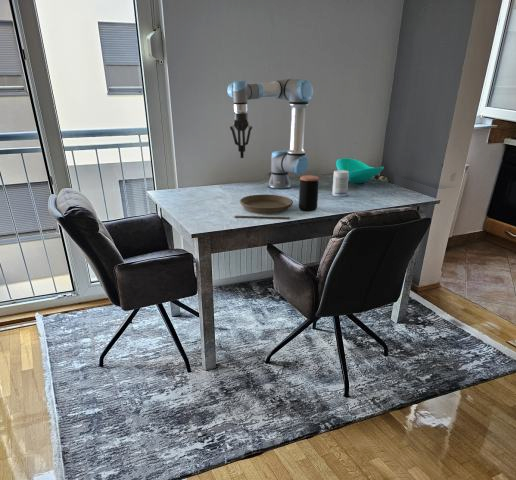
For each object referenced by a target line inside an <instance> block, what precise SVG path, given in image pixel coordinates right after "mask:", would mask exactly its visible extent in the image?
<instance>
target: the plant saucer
mask: <svg viewBox="0 0 516 480" xmlns="http://www.w3.org/2000/svg"><path fill="white" fill-rule="evenodd" d="M239 203H240V205H241V206H242V208H243V209H244V210H245V211H247V212H249V213H253V214H259V215H260V214H261V215H275V214H281V213H282V214H283V213H284V212H287V211H288V210H289V209H290V208H291V207H292V205H293V204H294V201H293V200H292V199H291V198H289V197H286V196H283V195H277V194H266V193H265V194H263V193H262V194H252V195H247V196H244V197H241V199H239Z"/></svg>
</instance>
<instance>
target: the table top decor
mask: <svg viewBox="0 0 516 480" xmlns="http://www.w3.org/2000/svg"><path fill="white" fill-rule="evenodd" d="M335 164H336V170H345V171H348V172H349V178H348V182H350V183H352V184H364V183H366V182H368V181H369V180H371V179H373V178H374V177H376V176H377V175H378V174H380V173H381V172H382V171H383V170H384V166H380V167H373V166H369V165H367V164H366V163H365V162H363V161H360V160H358V159H354V158H349V157H347V158H346V157H343V158H338V159H337V160H336V162H335Z"/></svg>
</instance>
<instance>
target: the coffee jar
mask: <svg viewBox="0 0 516 480" xmlns="http://www.w3.org/2000/svg"><path fill="white" fill-rule="evenodd" d="M299 180H300V181H299V191H298V192H299V193H298V195H299V196H298V209H299V210H300V211H302V212H309V213H310V212H315V211H316V210H317V209H318V200H319V199H318V198H319V187H320V186H319V185H320V182H319V180H320V177H319V176H317V175H311V174H310V175H309V174H308V175H301V176H300V177H299Z"/></svg>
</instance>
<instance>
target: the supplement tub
mask: <svg viewBox="0 0 516 480" xmlns="http://www.w3.org/2000/svg"><path fill="white" fill-rule="evenodd" d="M332 176H333V177H332V191H331V194H332V196H334V197H339V198H342V197H343V198H344V197H346V196H347V195H348V188H349V181H348V178H349V172H348V171H345V170H338V169H336V170H333V175H332Z"/></svg>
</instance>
